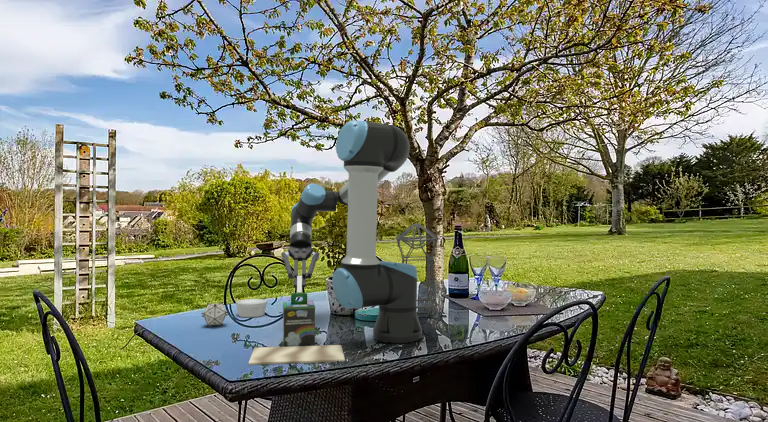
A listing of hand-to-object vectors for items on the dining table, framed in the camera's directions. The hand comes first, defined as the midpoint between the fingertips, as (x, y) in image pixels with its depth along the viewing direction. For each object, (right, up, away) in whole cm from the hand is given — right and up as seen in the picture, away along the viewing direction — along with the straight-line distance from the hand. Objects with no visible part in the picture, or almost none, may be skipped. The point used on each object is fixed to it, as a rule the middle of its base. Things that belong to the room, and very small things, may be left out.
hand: (299, 294), depth 152 cm
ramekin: (-23, -13, +27) cm, 38 cm away
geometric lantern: (+39, -13, +29) cm, 50 cm away
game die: (-30, -12, +9) cm, 33 cm away
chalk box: (+2, -12, -11) cm, 17 cm away
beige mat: (+4, -12, -24) cm, 27 cm away
